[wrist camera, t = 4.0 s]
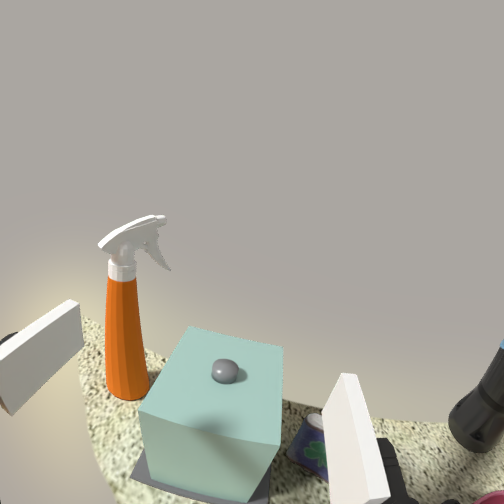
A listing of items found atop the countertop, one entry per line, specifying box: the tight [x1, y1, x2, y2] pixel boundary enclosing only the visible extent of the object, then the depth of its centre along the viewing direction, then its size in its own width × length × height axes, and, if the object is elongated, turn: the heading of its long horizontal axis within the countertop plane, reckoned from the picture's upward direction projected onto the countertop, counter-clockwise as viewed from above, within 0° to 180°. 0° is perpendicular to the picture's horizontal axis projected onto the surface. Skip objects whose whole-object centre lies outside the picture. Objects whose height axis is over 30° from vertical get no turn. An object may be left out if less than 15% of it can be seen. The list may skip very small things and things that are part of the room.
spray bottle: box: [98, 215, 171, 400], centre depth 33 cm, size 7×11×26 cm, turn 139°
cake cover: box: [138, 326, 283, 503], centre depth 25 cm, size 11×14×16 cm
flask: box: [286, 413, 329, 484], centre depth 25 cm, size 9×3×11 cm, turn 47°
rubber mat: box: [130, 449, 271, 504], centre depth 28 cm, size 16×16×1 cm
